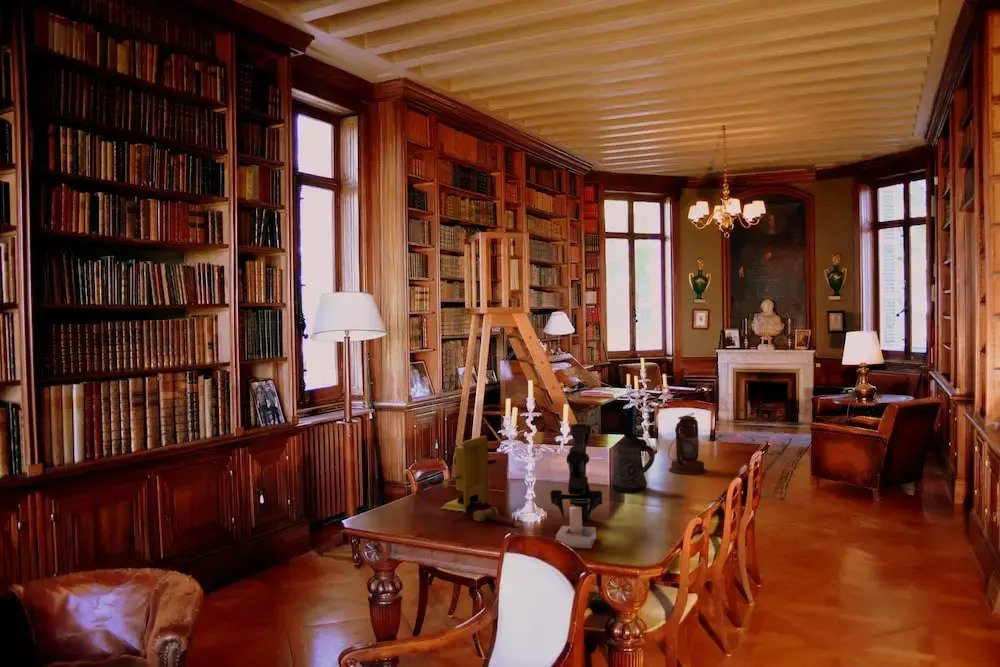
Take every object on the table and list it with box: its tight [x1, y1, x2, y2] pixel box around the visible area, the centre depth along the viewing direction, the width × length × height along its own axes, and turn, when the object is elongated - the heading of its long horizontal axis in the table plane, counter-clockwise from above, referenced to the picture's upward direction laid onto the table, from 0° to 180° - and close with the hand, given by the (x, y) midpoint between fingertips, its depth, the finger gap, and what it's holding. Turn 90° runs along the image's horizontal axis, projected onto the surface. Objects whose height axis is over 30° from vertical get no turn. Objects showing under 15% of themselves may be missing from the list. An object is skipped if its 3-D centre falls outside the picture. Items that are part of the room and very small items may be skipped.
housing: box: [555, 525, 597, 549], centre depth 280 cm, size 12×12×4 cm
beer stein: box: [610, 434, 656, 494], centre depth 361 cm, size 16×19×25 cm
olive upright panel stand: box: [440, 435, 494, 514], centre depth 336 cm, size 31×14×30 cm, turn 149°
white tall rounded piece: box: [568, 505, 583, 534], centre depth 280 cm, size 4×4×12 cm
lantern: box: [667, 412, 708, 476], centre depth 397 cm, size 19×19×30 cm
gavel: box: [472, 506, 520, 528], centre depth 309 cm, size 21×5×10 cm
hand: (575, 517), depth 280 cm, fingers open, 9 cm apart
